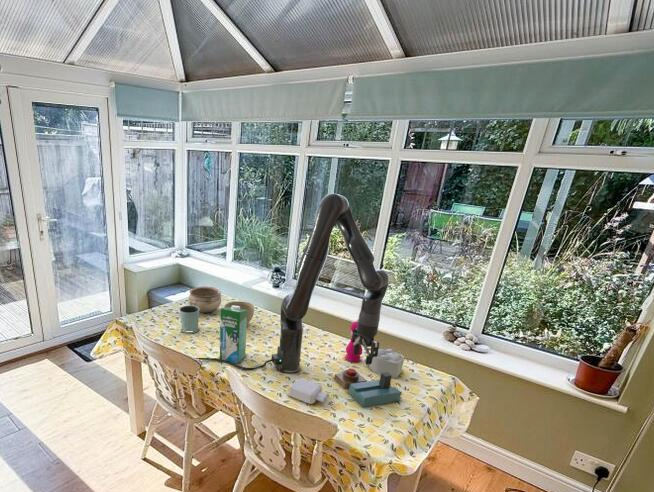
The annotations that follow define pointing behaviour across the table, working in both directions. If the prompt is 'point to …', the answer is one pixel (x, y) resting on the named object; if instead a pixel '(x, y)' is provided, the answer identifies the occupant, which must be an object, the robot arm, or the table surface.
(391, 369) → the lumpy-topped squat cylinder
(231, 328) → the milk carton
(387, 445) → the table surface
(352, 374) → the button
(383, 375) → the slider
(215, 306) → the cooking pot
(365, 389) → the control base
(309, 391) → the charger
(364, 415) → the table surface
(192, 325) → the grey-green cylindrical pot
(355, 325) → the pepper mill
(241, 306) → the planter bowl
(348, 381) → the panel
